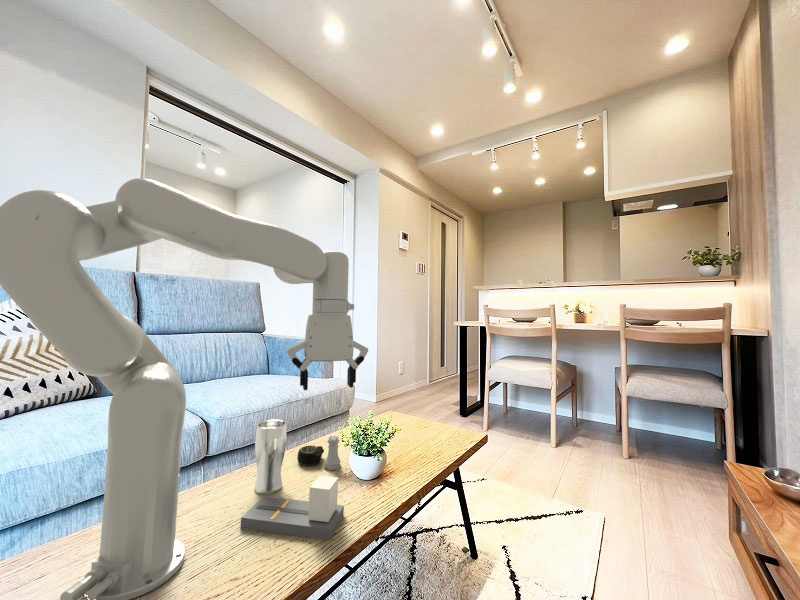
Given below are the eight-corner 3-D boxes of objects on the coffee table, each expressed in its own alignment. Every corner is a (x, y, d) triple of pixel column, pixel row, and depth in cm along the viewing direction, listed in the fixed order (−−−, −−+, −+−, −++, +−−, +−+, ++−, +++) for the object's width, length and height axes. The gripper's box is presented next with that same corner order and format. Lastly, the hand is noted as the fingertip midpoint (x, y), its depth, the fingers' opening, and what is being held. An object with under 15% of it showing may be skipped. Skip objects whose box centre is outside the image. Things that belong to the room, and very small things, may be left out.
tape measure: (319, 468, 91) (320, 454, 92) (294, 467, 91) (295, 453, 91) (323, 457, 98) (324, 444, 98) (300, 457, 98) (300, 444, 98)
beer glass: (290, 484, 81) (293, 422, 82) (267, 498, 75) (271, 430, 76) (268, 478, 84) (272, 417, 85) (245, 490, 78) (249, 425, 79)
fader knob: (328, 522, 63) (329, 489, 64) (308, 519, 64) (309, 487, 64) (336, 507, 68) (338, 477, 69) (318, 505, 69) (319, 475, 69)
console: (329, 540, 62) (330, 528, 62) (240, 528, 64) (241, 517, 64) (343, 515, 70) (343, 505, 70) (263, 505, 72) (263, 495, 72)
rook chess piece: (336, 471, 89) (338, 441, 90) (321, 469, 90) (322, 439, 90) (343, 464, 93) (344, 435, 94) (328, 462, 94) (329, 433, 95)
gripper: (364, 309, 80) (363, 382, 79) (288, 307, 74) (285, 386, 73) (373, 309, 72) (371, 389, 72) (289, 307, 66) (286, 394, 66)
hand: (328, 387), depth 72 cm, fingers open, 9 cm apart
